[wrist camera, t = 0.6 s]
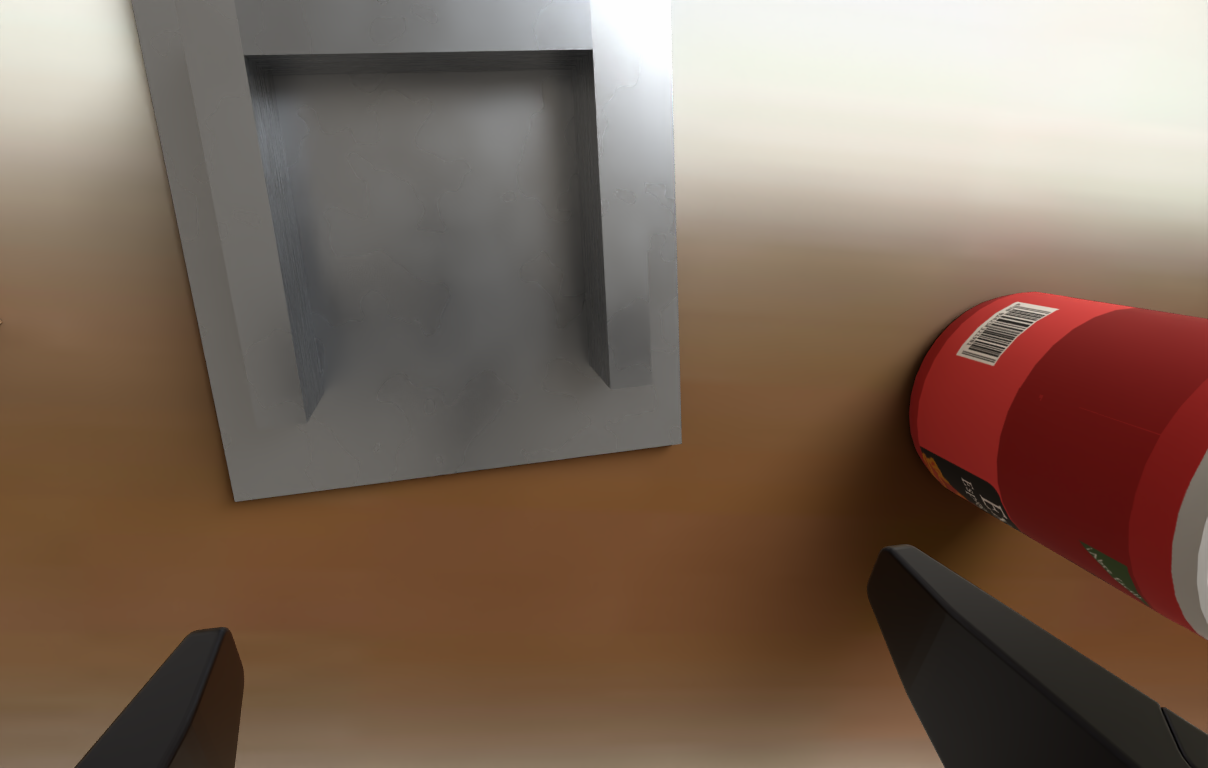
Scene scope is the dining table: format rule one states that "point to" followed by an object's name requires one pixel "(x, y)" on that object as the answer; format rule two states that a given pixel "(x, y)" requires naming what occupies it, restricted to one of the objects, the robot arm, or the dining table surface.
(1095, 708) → the robot arm
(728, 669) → the dining table surface
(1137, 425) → the canned food
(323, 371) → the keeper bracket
